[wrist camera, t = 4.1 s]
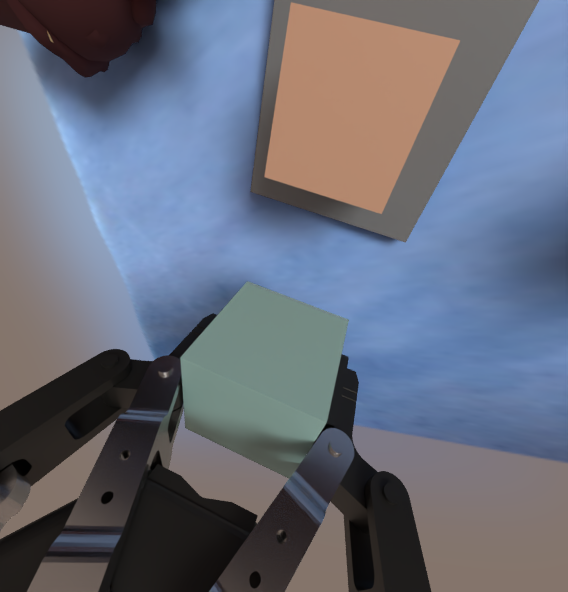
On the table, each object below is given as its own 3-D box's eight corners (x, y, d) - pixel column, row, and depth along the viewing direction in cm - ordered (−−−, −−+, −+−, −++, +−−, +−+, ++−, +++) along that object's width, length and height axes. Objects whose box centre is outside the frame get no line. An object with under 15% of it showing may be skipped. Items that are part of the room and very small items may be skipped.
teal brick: (348, 319, 12) (326, 422, 8) (317, 382, 15) (290, 479, 11) (247, 281, 12) (180, 357, 8) (237, 349, 15) (185, 428, 11)
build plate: (531, 1, 10) (543, -9, 9) (404, 236, 16) (405, 242, 15) (289, -48, 11) (281, -60, 10) (256, 188, 17) (250, 191, 17)
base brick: (433, 66, 11) (460, 40, 7) (382, 186, 14) (381, 214, 10) (322, 40, 12) (291, 2, 8) (296, 160, 15) (264, 177, 11)
